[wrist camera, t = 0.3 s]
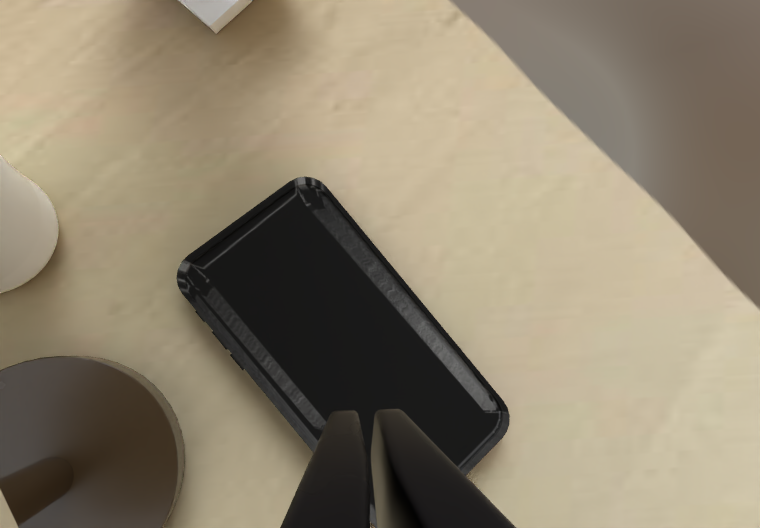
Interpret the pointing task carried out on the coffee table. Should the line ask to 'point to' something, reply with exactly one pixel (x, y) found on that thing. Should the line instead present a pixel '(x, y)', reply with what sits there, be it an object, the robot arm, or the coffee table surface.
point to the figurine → (215, 11)
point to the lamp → (86, 446)
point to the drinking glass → (23, 228)
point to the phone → (336, 327)
